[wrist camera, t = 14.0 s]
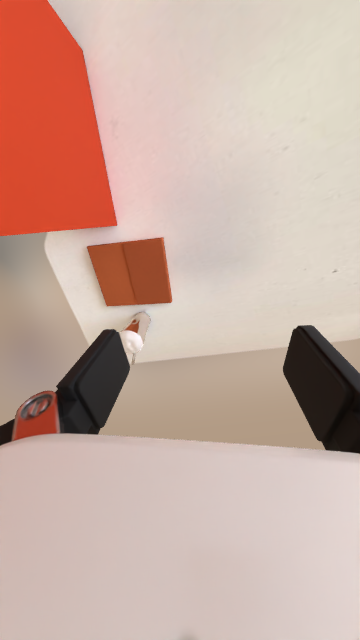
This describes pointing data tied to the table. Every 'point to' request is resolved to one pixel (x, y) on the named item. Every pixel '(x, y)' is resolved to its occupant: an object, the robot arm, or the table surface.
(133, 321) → the milkshake
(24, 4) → the file binder
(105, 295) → the cloth
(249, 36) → the table surface
